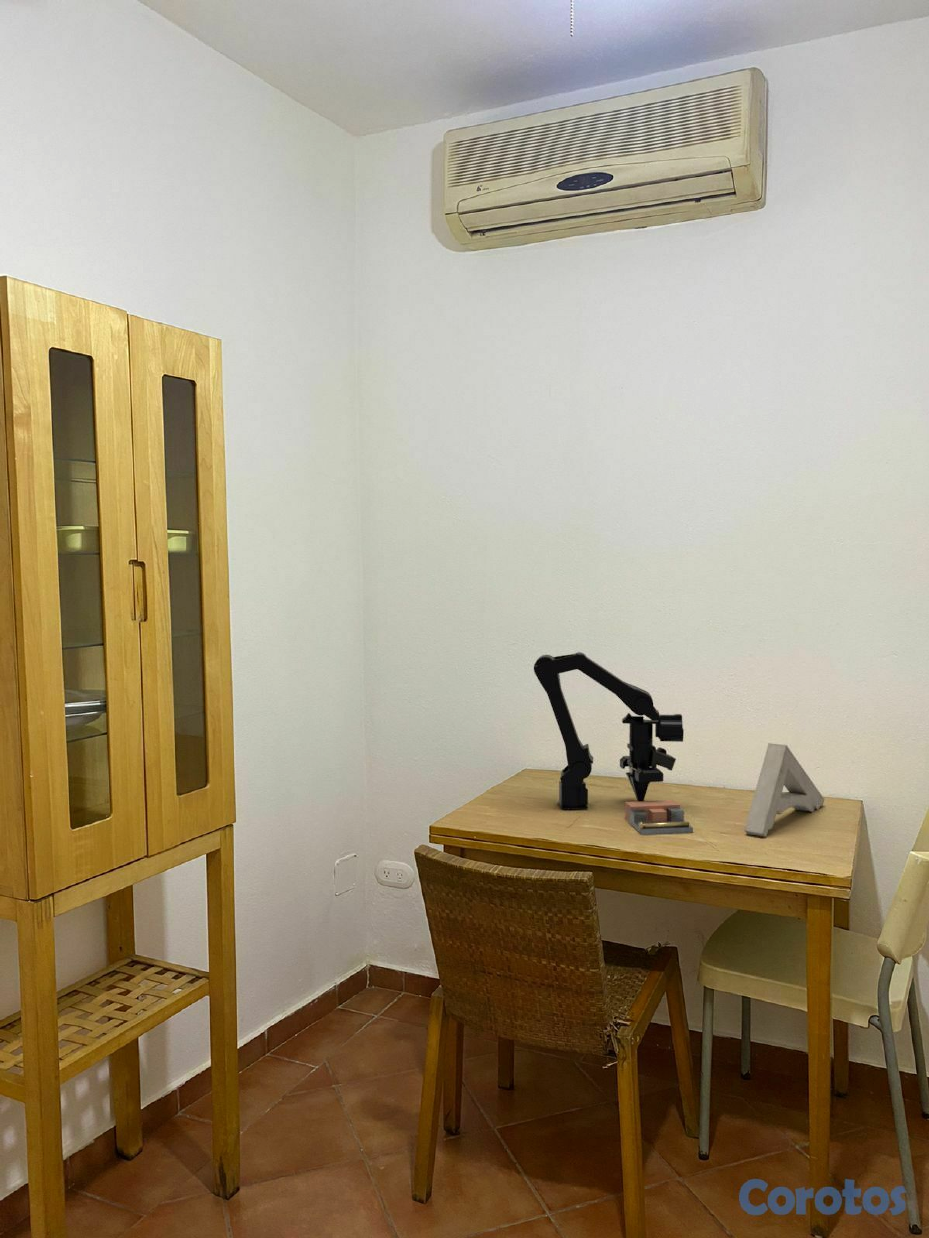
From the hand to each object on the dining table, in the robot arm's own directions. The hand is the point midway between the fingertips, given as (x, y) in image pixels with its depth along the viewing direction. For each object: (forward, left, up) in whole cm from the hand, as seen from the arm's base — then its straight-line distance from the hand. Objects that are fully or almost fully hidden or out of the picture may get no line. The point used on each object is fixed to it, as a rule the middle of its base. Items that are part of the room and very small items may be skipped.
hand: (640, 802), depth 248 cm
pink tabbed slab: (0, -12, -2) cm, 12 cm away
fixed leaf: (0, -19, -2) cm, 19 cm away
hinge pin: (0, -21, -2) cm, 21 cm away
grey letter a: (+31, -15, -2) cm, 35 cm away
